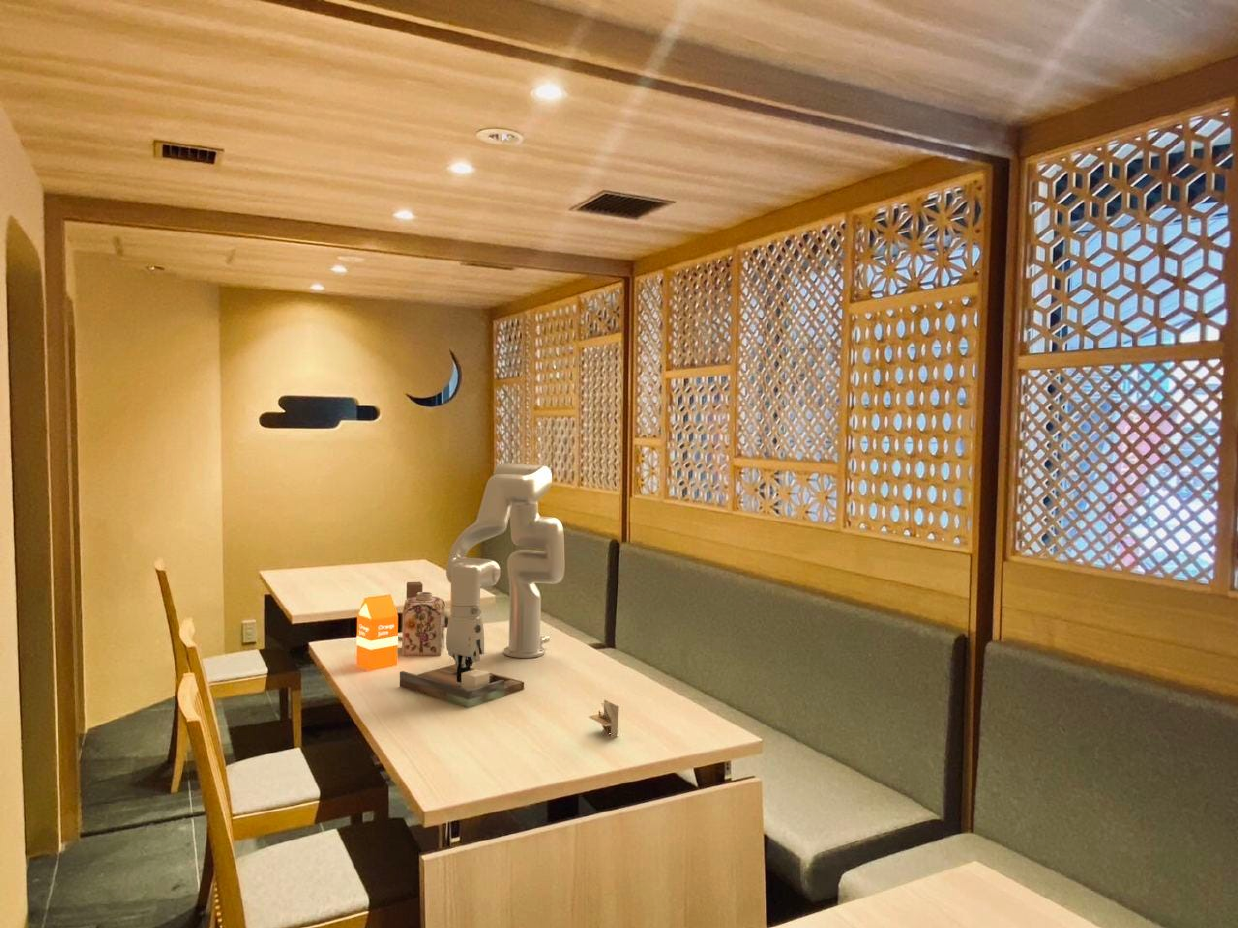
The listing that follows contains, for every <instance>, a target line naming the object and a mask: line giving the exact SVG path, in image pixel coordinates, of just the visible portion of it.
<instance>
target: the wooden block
mask: <svg viewBox="0 0 1238 928" xmlns="http://www.w3.org/2000/svg"><path fill="white" fill-rule="evenodd" d="M423 586H424V585H423V583H422V581H407V582H406V600H407V599H409V598H413V597H416V596H417V593H418V592H423V589H424V588H423Z"/></svg>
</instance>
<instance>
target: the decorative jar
mask: <svg viewBox="0 0 1238 928" xmlns="http://www.w3.org/2000/svg"><path fill="white" fill-rule="evenodd" d="M401 634H402V637H401V639H402V640H401V648H402V649H401V654H402V656H403V657H441V656H442V653H443V650H444V648H445V602H444V599H443V598H440V597H437V596H433V593H432V592H430V591H422V592H418V593H417V596H416V597H413V598H409V599H407V598H406V600H405V601H404V606H403V610H402V633H401Z"/></svg>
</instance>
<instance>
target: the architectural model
mask: <svg viewBox="0 0 1238 928" xmlns="http://www.w3.org/2000/svg"><path fill="white" fill-rule="evenodd" d="M601 705H602V707H603V713H602V711H601V710H598V714H593V715H588V717H589V719H590V720H593V721H595V722H596V723H598V724H601V726H602V729H603V728H604V729H603V730H604V732H605V735H606V734H607V735H608V734H609V733H611V735H610V738H611V737H614V738H617V737H618V736H617V735H619V707H620V706H619V705H618V704H615V703H614V702H611V701H609V700H607V699H604V700H603V702H602V703H601ZM607 735H606V736H607ZM608 736H609V735H608ZM616 736H617V737H616Z"/></svg>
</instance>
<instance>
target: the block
mask: <svg viewBox="0 0 1238 928" xmlns="http://www.w3.org/2000/svg"><path fill="white" fill-rule="evenodd" d="M473 669H474V670H471V671H467V672H463V673H462V677H461V688H464V689H468V690H470V689H474V688H477V687H480V686H483V685H487V684H489V681H490V673H491V672H489V671H485V670H481V669H478V668H473Z"/></svg>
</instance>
